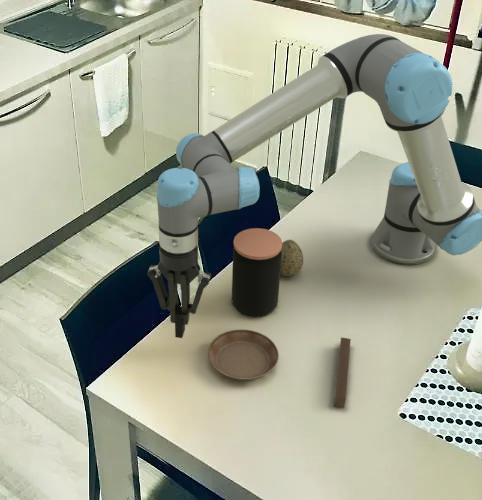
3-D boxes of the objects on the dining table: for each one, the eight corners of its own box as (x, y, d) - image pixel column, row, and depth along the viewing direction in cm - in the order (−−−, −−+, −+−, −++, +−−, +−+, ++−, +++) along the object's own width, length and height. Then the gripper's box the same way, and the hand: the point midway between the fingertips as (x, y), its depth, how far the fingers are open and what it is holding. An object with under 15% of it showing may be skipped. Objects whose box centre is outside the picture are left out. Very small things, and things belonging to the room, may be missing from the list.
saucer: (206, 337, 160) (206, 329, 158) (273, 337, 159) (274, 328, 158) (209, 388, 148) (209, 379, 147) (281, 387, 148) (282, 378, 146)
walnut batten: (348, 348, 155) (350, 338, 154) (344, 408, 142) (345, 398, 141) (339, 347, 156) (341, 337, 154) (333, 406, 143) (335, 396, 141)
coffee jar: (283, 295, 170) (288, 233, 160) (269, 324, 163) (274, 261, 152) (240, 285, 174) (242, 223, 163) (224, 312, 167) (226, 250, 156)
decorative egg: (307, 276, 175) (311, 243, 169) (283, 286, 173) (286, 253, 167) (290, 261, 181) (293, 228, 175) (266, 270, 178) (268, 237, 172)
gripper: (140, 251, 138) (146, 340, 153) (207, 260, 135) (206, 350, 149) (151, 229, 144) (155, 317, 158) (215, 237, 141) (213, 326, 155)
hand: (180, 333), depth 154 cm, fingers closed
